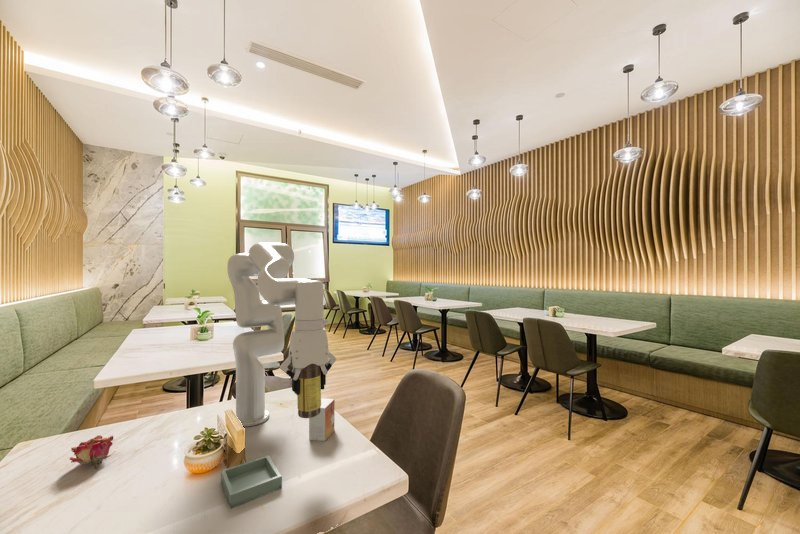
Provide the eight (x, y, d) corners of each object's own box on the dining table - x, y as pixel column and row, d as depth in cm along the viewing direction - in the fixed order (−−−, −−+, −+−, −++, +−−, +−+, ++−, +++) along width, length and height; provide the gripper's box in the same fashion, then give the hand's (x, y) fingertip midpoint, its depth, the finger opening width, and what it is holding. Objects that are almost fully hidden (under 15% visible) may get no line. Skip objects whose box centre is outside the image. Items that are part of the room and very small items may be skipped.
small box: (325, 442, 105) (325, 408, 105) (308, 440, 106) (308, 407, 106) (334, 429, 113) (335, 398, 113) (319, 428, 114) (319, 397, 114)
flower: (123, 456, 94) (120, 428, 97) (82, 467, 86) (80, 436, 89) (103, 470, 96) (100, 443, 99) (61, 482, 88) (60, 451, 91)
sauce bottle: (324, 410, 94) (325, 340, 94) (314, 420, 88) (315, 345, 88) (304, 408, 95) (305, 338, 95) (292, 417, 89) (293, 343, 89)
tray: (221, 482, 85) (221, 470, 85) (268, 466, 92) (268, 455, 92) (230, 508, 76) (230, 495, 76) (281, 488, 83) (281, 476, 83)
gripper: (333, 320, 99) (333, 380, 100) (273, 326, 90) (272, 392, 90) (344, 324, 93) (343, 388, 93) (280, 330, 83) (280, 402, 84)
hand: (309, 390), depth 92 cm, fingers closed on sauce bottle, 6 cm apart
